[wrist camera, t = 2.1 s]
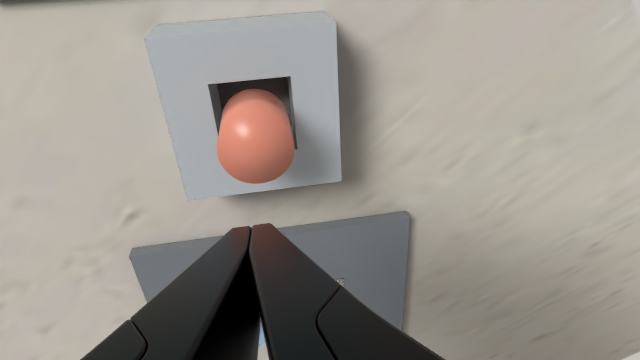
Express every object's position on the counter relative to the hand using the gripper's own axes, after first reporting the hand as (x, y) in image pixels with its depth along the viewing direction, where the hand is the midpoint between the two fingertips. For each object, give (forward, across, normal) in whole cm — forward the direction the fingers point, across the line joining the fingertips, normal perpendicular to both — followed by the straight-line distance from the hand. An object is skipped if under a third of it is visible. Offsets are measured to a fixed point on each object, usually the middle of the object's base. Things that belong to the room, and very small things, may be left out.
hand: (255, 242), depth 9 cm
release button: (+7, 0, 0) cm, 7 cm away
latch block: (+10, 0, 0) cm, 10 cm away
